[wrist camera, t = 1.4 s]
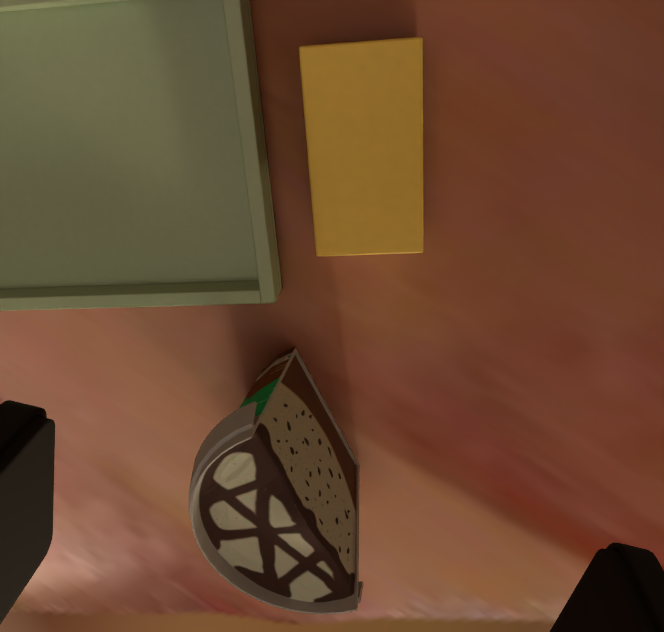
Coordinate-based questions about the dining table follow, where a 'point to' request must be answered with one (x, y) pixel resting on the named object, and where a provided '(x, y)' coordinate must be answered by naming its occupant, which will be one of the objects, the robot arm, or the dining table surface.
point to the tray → (132, 156)
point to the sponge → (365, 145)
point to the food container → (281, 496)
